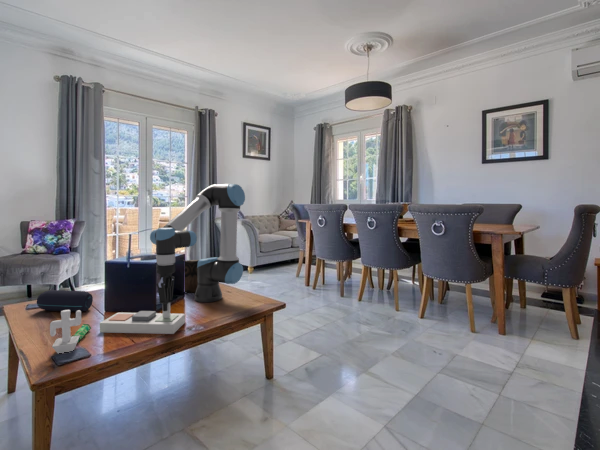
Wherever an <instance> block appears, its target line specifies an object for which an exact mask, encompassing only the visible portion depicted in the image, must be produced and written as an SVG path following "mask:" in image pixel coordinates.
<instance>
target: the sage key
mask: <svg viewBox="0 0 600 450" xmlns="http://www.w3.org/2000/svg"><path fill="white" fill-rule="evenodd" d="M177 317H178V315H170V318H163V315H162V316H160V317H159V318H158V319H157V320H155V322H173V321H174V320H175V319H176V318H177Z"/></svg>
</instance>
